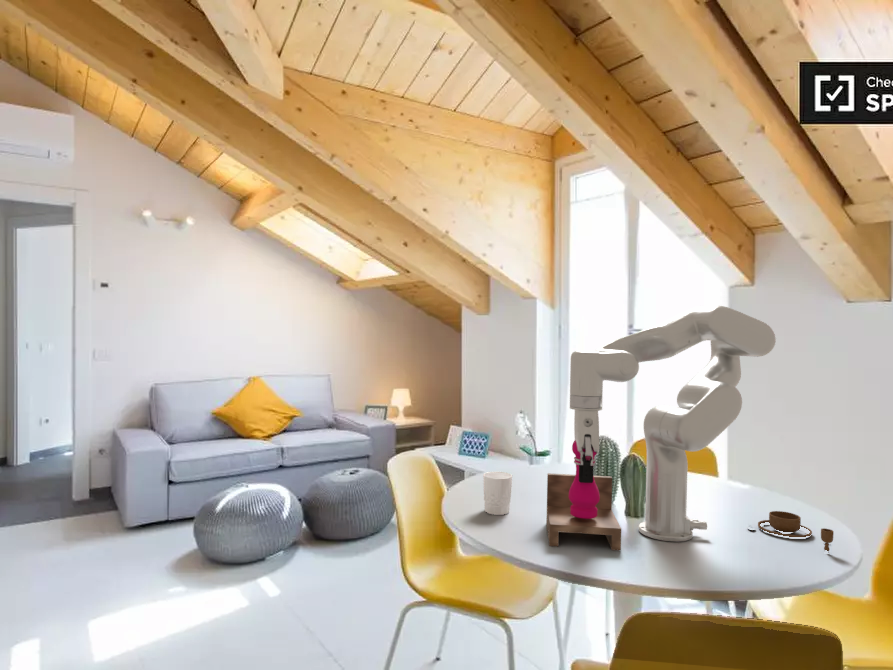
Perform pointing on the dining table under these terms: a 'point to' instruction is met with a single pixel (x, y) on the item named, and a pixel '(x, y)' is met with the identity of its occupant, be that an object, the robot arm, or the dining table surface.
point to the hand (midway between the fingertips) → (584, 478)
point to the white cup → (497, 492)
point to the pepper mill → (583, 492)
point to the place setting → (793, 526)
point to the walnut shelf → (565, 522)
